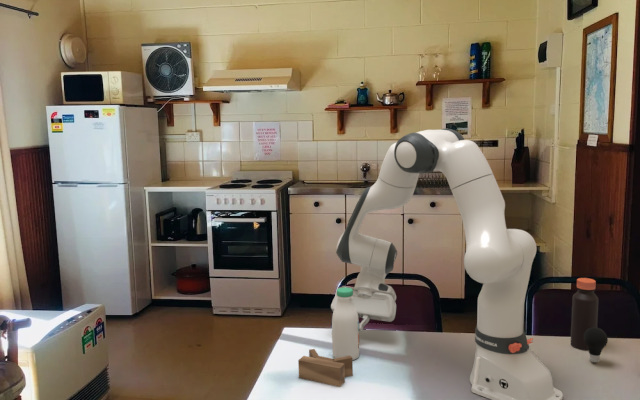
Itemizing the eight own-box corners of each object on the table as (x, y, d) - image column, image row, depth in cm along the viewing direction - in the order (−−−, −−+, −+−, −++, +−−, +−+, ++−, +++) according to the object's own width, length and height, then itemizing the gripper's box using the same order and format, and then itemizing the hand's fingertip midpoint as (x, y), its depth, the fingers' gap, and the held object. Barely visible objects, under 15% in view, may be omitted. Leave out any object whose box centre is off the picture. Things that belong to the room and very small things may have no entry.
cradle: (311, 365, 151) (310, 348, 151) (354, 373, 146) (353, 356, 145) (297, 377, 144) (296, 359, 144) (341, 387, 139) (341, 368, 138)
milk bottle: (357, 362, 152) (356, 294, 149) (330, 361, 154) (328, 293, 151) (360, 351, 160) (360, 285, 157) (335, 349, 161) (333, 284, 158)
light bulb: (609, 362, 149) (611, 327, 147) (602, 369, 145) (604, 333, 143) (586, 356, 153) (588, 322, 151) (579, 363, 149) (581, 328, 147)
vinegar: (568, 347, 159) (571, 281, 156) (572, 339, 164) (574, 275, 161) (594, 352, 155) (598, 285, 152) (597, 344, 161) (600, 278, 158)
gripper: (335, 280, 173) (322, 320, 166) (396, 287, 164) (386, 330, 157) (341, 290, 178) (329, 329, 170) (401, 297, 169) (391, 339, 161)
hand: (356, 329), depth 163 cm, fingers closed
